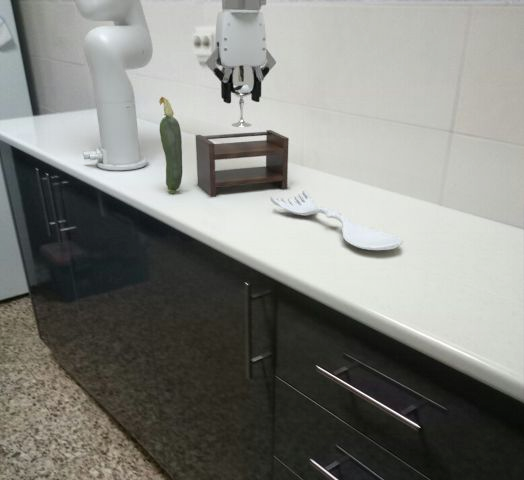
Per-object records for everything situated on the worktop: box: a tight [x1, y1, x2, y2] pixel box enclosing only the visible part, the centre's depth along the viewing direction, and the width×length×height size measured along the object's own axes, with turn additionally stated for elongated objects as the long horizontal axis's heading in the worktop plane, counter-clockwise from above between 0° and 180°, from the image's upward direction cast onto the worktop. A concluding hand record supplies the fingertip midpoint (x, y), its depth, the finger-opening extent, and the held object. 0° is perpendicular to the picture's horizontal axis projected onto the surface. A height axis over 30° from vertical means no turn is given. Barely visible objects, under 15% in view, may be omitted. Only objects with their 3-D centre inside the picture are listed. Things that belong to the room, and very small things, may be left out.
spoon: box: [269, 190, 404, 251], centre depth 109 cm, size 9×32×4 cm, turn 32°
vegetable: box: [158, 96, 183, 194], centre depth 124 cm, size 4×4×20 cm
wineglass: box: [229, 65, 255, 128], centre depth 124 cm, size 6×6×12 cm
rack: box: [194, 129, 290, 198], centre depth 132 cm, size 18×10×11 cm, turn 112°
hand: (241, 100), depth 125 cm, fingers closed on wineglass, 5 cm apart
